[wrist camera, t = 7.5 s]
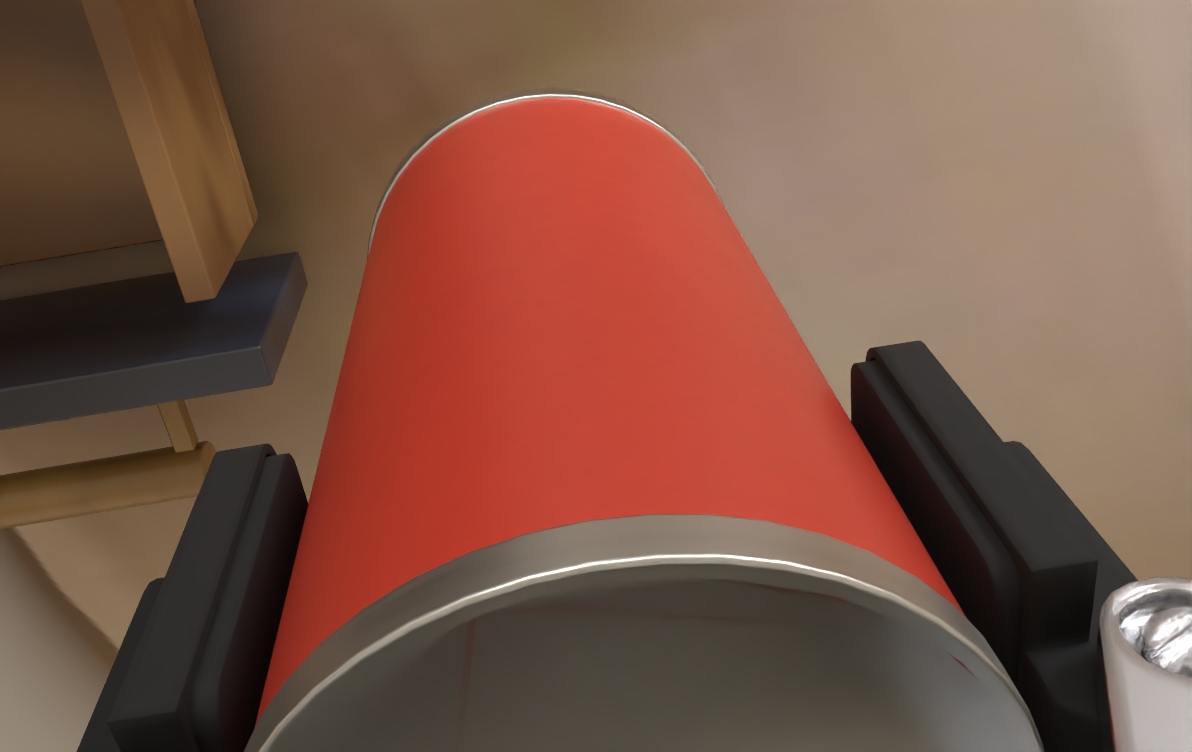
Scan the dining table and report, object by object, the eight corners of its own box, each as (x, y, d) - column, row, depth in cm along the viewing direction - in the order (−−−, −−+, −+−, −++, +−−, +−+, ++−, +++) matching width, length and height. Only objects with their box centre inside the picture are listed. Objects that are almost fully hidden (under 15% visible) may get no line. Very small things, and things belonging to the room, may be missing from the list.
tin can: (329, 118, 17) (85, 647, 6) (714, 59, 17) (1090, 485, 7) (411, 445, 20) (333, 1178, 9) (739, 393, 20) (1026, 1058, 10)
